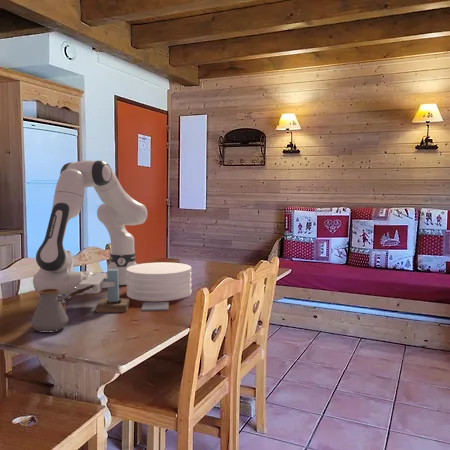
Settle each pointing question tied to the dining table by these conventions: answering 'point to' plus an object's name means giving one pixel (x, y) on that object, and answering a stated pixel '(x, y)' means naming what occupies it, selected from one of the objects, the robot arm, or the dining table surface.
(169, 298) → the plate stack
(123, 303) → the holder
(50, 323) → the coffee pot
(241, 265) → the dining table surface
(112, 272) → the peg
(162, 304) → the coaster
